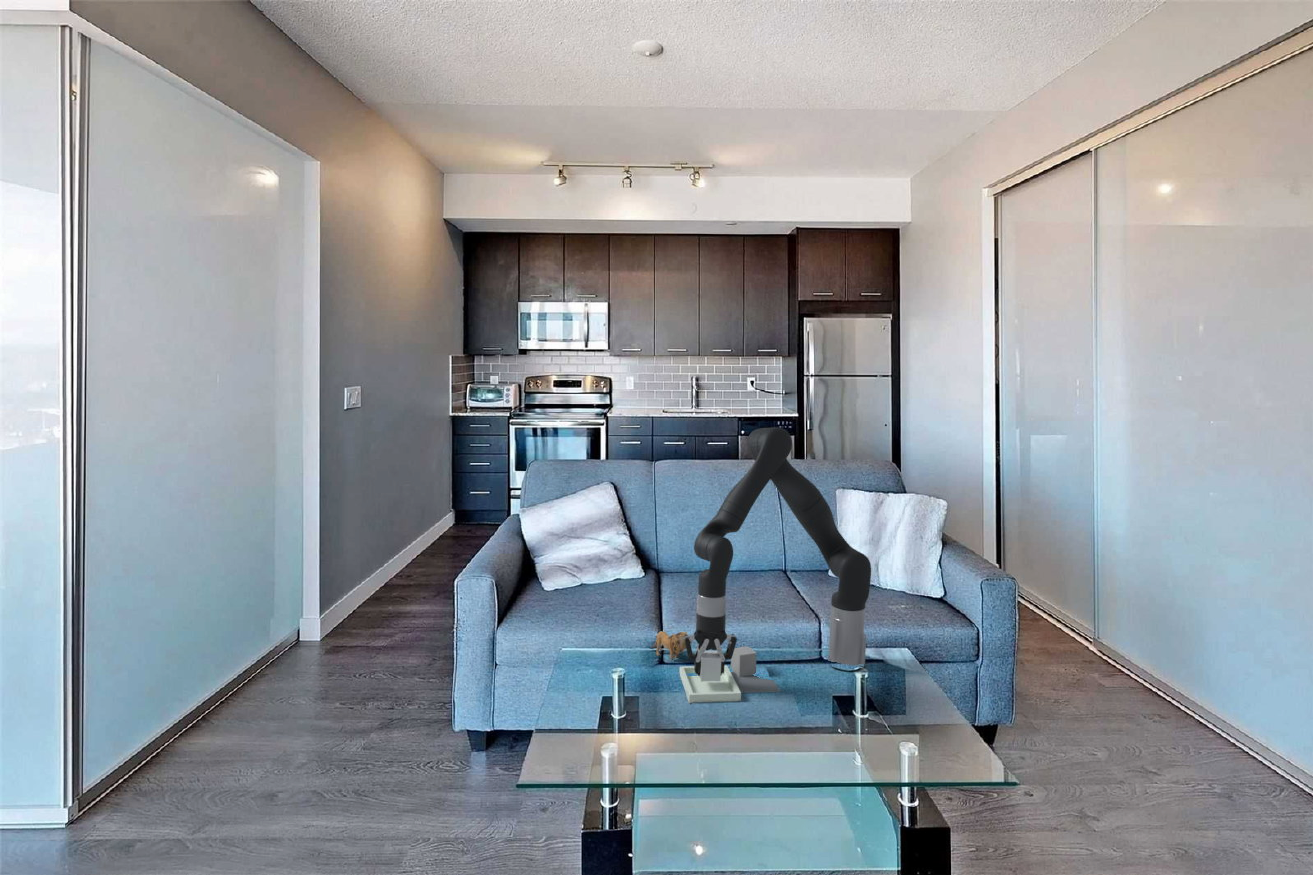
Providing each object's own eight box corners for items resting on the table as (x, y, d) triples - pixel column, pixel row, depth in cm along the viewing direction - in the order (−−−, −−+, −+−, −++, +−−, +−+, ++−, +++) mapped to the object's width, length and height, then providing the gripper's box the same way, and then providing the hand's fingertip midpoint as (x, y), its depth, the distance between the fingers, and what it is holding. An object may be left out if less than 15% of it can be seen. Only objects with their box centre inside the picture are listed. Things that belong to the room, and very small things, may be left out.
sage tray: (726, 673, 209) (727, 665, 209) (740, 702, 192) (741, 693, 192) (679, 675, 208) (679, 666, 207) (689, 704, 191) (689, 694, 191)
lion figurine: (694, 662, 216) (694, 631, 215) (681, 668, 213) (682, 636, 211) (655, 647, 226) (656, 618, 225) (643, 652, 222) (643, 622, 221)
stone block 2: (746, 667, 213) (747, 646, 212) (755, 674, 208) (756, 653, 208) (730, 669, 211) (731, 648, 210) (739, 676, 207) (740, 655, 206)
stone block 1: (716, 672, 203) (717, 650, 202) (720, 681, 198) (721, 658, 197) (697, 673, 202) (698, 651, 201) (701, 681, 197) (701, 658, 196)
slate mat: (764, 667, 214) (765, 666, 214) (780, 693, 198) (780, 691, 198) (725, 668, 213) (726, 667, 213) (738, 694, 197) (738, 692, 197)
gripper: (735, 605, 202) (733, 667, 204) (681, 606, 201) (679, 669, 203) (741, 615, 195) (739, 680, 197) (685, 616, 193) (683, 681, 195)
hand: (709, 674), depth 200 cm, fingers closed on stone block 1, 5 cm apart
